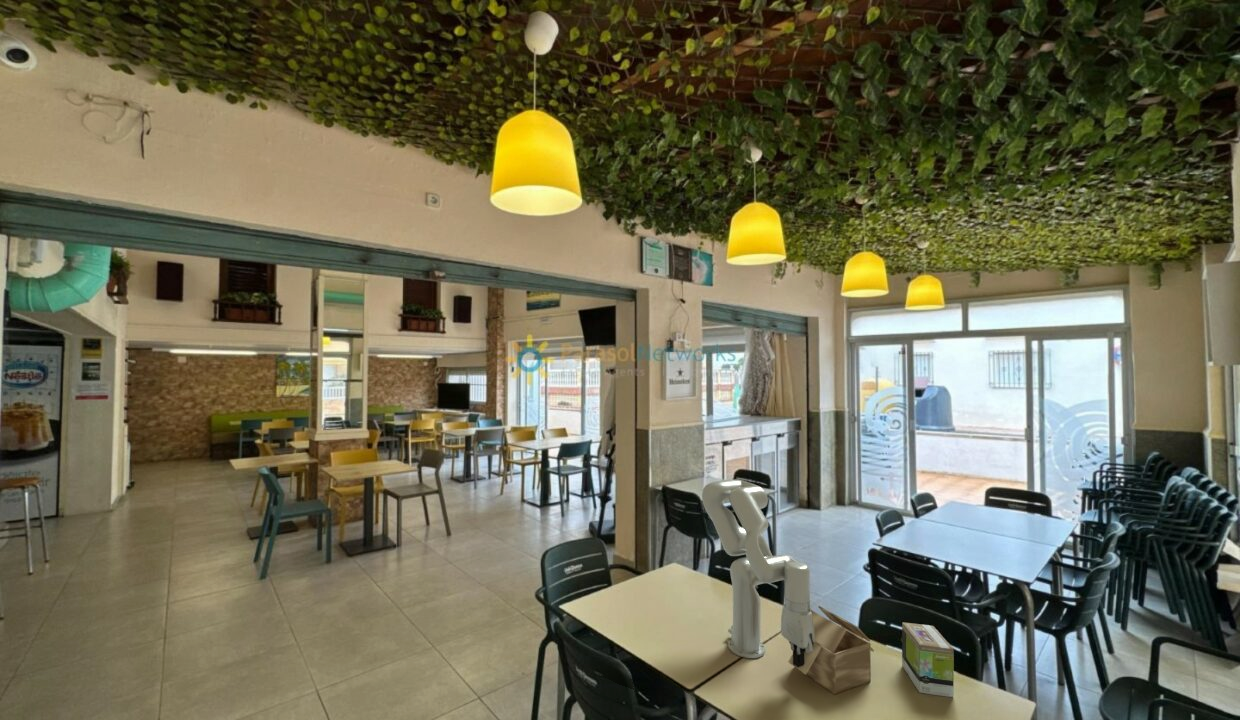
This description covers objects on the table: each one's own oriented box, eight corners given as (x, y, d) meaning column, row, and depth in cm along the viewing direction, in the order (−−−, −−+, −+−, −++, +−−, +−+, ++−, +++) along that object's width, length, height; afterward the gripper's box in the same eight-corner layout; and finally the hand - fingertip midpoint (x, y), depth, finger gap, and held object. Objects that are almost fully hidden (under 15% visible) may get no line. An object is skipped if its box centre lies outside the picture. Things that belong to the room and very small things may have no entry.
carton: (795, 666, 163) (795, 629, 164) (829, 655, 170) (829, 620, 170) (834, 694, 149) (834, 654, 149) (870, 681, 155) (870, 643, 156)
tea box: (955, 698, 148) (954, 648, 148) (918, 693, 150) (918, 644, 150) (934, 669, 163) (933, 624, 163) (900, 665, 165) (900, 620, 165)
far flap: (818, 607, 168) (818, 605, 168) (845, 635, 173) (845, 634, 173) (856, 628, 154) (857, 626, 154) (885, 658, 159) (885, 657, 159)
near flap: (846, 630, 152) (845, 629, 152) (816, 682, 146) (815, 681, 146) (808, 609, 166) (807, 608, 166) (779, 655, 160) (778, 654, 160)
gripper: (771, 597, 158) (772, 655, 157) (807, 616, 145) (808, 680, 144) (789, 593, 162) (790, 650, 161) (825, 611, 148) (826, 674, 147)
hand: (798, 664), depth 152 cm, fingers closed
